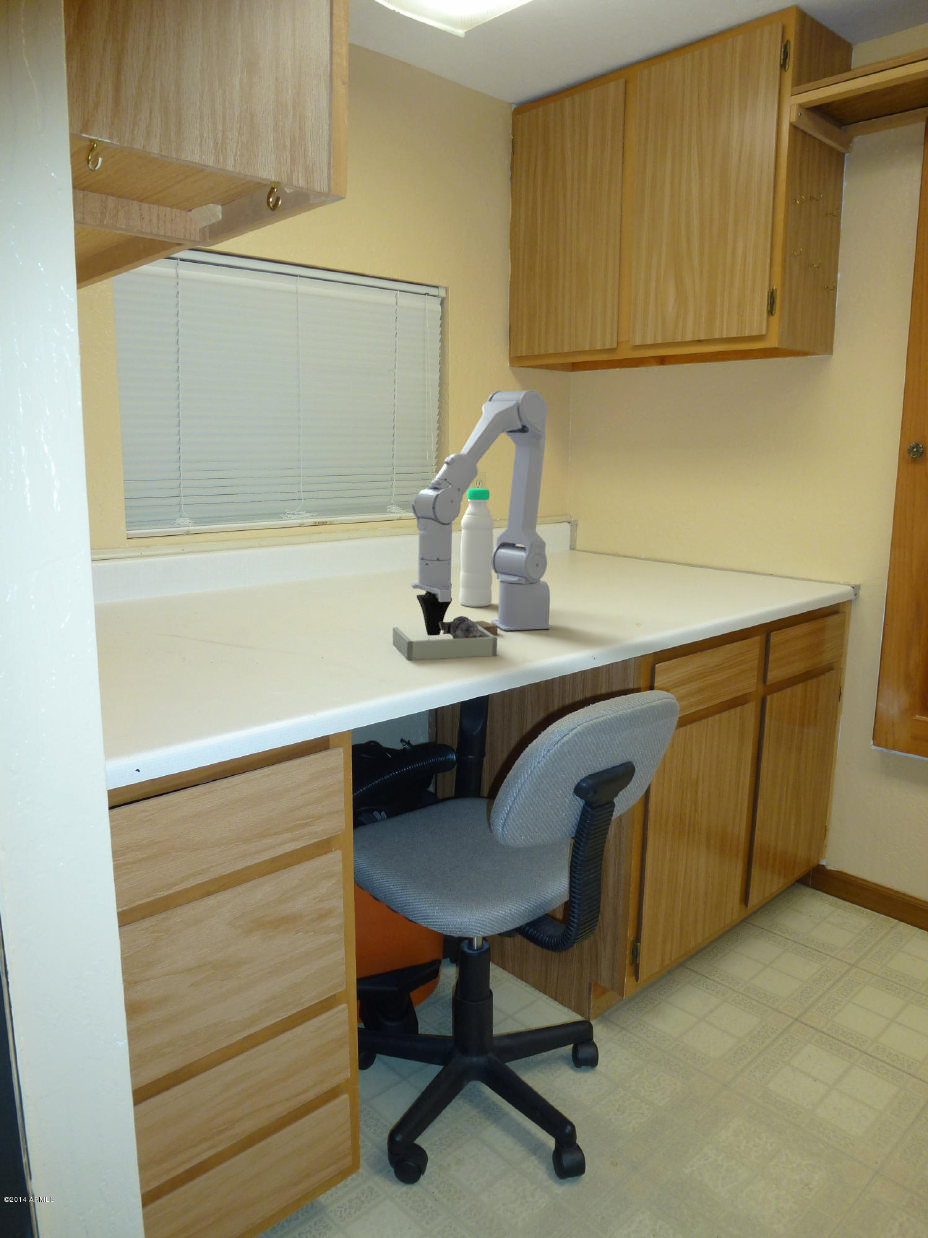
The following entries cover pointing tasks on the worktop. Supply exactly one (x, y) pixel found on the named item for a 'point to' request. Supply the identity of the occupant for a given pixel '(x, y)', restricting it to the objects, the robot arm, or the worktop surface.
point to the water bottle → (476, 551)
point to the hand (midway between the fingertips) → (433, 634)
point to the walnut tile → (488, 627)
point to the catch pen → (445, 646)
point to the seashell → (461, 628)
